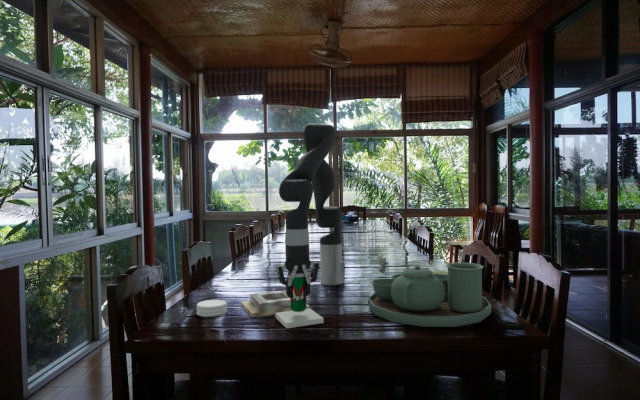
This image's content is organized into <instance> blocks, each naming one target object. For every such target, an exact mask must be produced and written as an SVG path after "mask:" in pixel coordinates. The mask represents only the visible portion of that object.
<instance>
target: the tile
mask: <svg viewBox="0 0 640 400" xmlns="http://www.w3.org/2000/svg"><path fill="white" fill-rule="evenodd" d="M274 317H275V319H276V320H277V321H278V322H279V323H280V324H281V325H282V326H284V327H285V328H286V329H291V328H297V327H305V326H311V325H312V326H313V325H319V324H324V320H325V319H324V317H323V316H321V315H320V314H318V313H317V312H315V311H314V310H313V309H312V308H310V307H309V308H308V309H306V310H305V311H302V312H294V311H285V312H278V313H275V315H274Z"/></svg>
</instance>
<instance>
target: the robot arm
mask: <svg viewBox="0 0 640 400" xmlns="http://www.w3.org/2000/svg"><path fill="white" fill-rule="evenodd" d="M335 128H336V127H334V126H333V125H332V124H328V123H327V124H325V123H308V124H306V125H305V126H304V130H303V141H304V142H303V143H304V145H305V150H306V153H304V154H303V155H302V156H301V157H300V158H299V159H298V160H297V163H296V165H295V167H294V169H293V170H292V171H290V172H289V174H287V175H286V177H284V178H283V180H282V181H281V183H280V185H279V188H278V194H279V197H280V199H281V200H282V201H284V202H286V203H296V202H297V203H299V204H298V206H297V207H296V208H294V209H289V210H287V211H286V212H285V233H284V235H285V236H284V237H285V238H284V246H285V262H284V264H281V265H279V264H278V265H276V266H275V268H276V273H277V276H278V281H279V283H280V284H281V285H283V286H285V290H286V295H287V296H288V297H289V298H292V286H291V284H292V281H293V279H294V277H295V274H296V273H304V275H305V277H306V297H308V296H310V294H311V284H312V283H314V282H316V281H317V277H318V273H319V268H320V284H322V285H324V286H337V285H341V284H344V283H345V272H344V271H345V270H344V266H345V264H344V260H343V256H342V254H343V253H342V251H343V250H342V209H341V207H340V206H324V205H325V203H326V201H327V200H328V198H329V197H330V196H331V195H332V194H333V192H334V190H335V189H336V188H335V187H336V180H335V179H336V177H335V172H334V170H333V168H332V166H331V165H330V164H329V163H328V162H327V161H326V157H327V156H328V155H329V153H330V152H331V151H332V149H333V148H334V145H335V143H336V129H335ZM313 197H314V205H315V206H314V207H315V220H316V223H317V226H318V227H319V228H322V229H333V231H331V232H330V233H328V234H326V235H322V236H320V238H319V246H320V247H319V253H320V255H319V256H320V264H319V262H316V261H313V262H312V261H311V260H310V233H309V222H308V221H309V210H310V207H311V206H310V205H311V202H312V199H313ZM309 268H311V271H310V274H309V272H308V270H309ZM285 269H286V270H287V276H286V278H285V274H284V272H285Z"/></svg>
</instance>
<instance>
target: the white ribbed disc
mask: <svg viewBox="0 0 640 400" xmlns="http://www.w3.org/2000/svg"><path fill="white" fill-rule="evenodd" d="M195 307H196V315H197V316H199V317H204V318H209V317H212V318H213V317H219V316H222V315H224V314H226V313H227V311H228V309H227V302H226V300H223V299H206V300H202V301H199V302H197V304H196V306H195Z"/></svg>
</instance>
